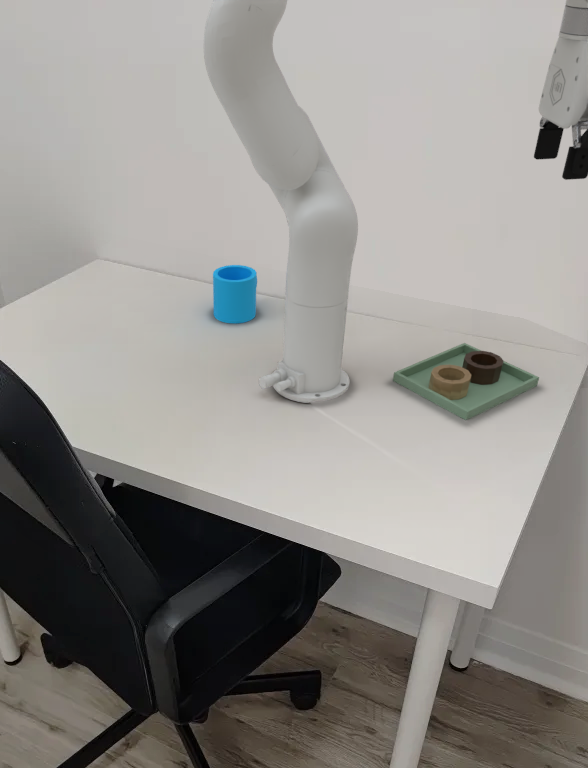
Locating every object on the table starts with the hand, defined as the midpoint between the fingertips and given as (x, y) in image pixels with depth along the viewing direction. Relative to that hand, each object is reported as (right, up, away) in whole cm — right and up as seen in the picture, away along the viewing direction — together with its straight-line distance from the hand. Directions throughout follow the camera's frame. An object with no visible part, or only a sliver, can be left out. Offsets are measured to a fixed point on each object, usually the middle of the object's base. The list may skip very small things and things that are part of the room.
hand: (559, 168), depth 106 cm
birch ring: (-10, -28, +17) cm, 34 cm away
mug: (-42, -8, +44) cm, 61 cm away
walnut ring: (-4, -25, +21) cm, 33 cm away
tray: (-7, -27, +19) cm, 34 cm away
